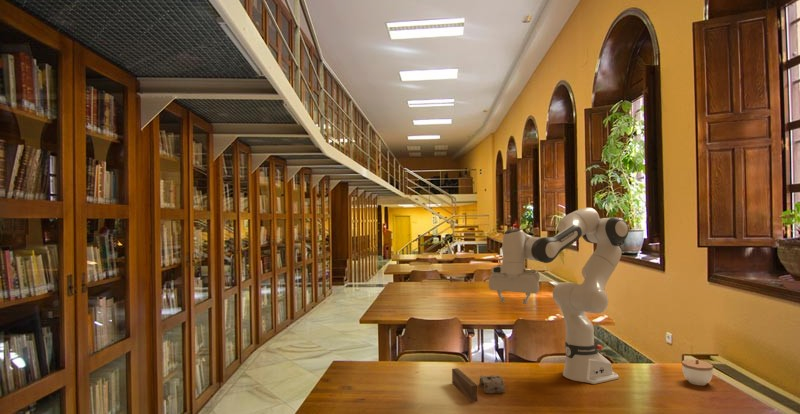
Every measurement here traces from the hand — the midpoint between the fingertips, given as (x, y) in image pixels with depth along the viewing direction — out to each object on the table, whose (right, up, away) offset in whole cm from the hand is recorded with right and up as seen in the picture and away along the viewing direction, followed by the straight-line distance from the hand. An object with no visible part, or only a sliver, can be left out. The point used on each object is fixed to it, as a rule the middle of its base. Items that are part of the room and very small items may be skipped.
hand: (513, 302), depth 190 cm
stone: (-10, -34, -5) cm, 36 cm away
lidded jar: (+75, -33, 0) cm, 82 cm away
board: (-21, -33, -8) cm, 40 cm away
